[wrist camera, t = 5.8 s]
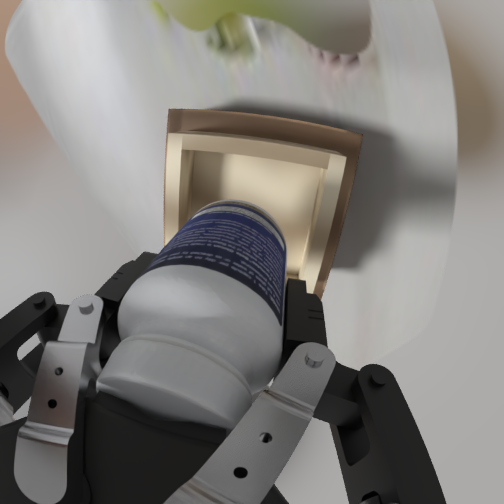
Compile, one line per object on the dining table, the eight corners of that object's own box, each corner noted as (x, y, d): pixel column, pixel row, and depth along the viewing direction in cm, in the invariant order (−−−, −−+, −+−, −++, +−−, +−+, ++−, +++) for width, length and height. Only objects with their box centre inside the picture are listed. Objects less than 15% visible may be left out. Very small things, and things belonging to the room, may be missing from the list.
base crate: (190, 110, 22) (168, 108, 18) (348, 132, 21) (362, 134, 17) (183, 248, 29) (165, 272, 24) (316, 271, 28) (320, 300, 24)
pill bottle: (175, 201, 13) (36, 332, 5) (284, 193, 12) (269, 369, 4) (195, 291, 16) (124, 440, 7) (289, 290, 15) (278, 469, 6)
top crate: (187, 130, 18) (168, 133, 15) (336, 151, 18) (346, 157, 15) (181, 259, 24) (166, 280, 20) (306, 281, 23) (308, 306, 20)
